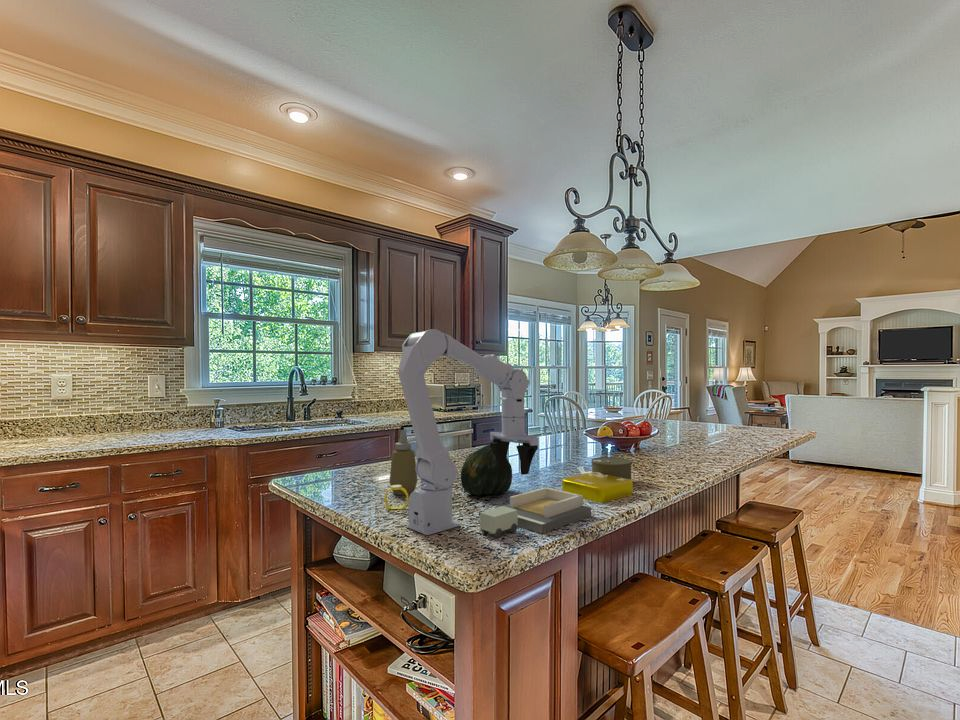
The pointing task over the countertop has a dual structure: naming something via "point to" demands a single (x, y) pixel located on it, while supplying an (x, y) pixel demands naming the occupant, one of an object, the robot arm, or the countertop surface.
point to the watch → (396, 487)
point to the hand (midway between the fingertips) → (513, 471)
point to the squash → (485, 473)
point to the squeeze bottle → (403, 466)
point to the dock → (548, 509)
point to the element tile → (598, 486)
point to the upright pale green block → (499, 521)
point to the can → (612, 466)
